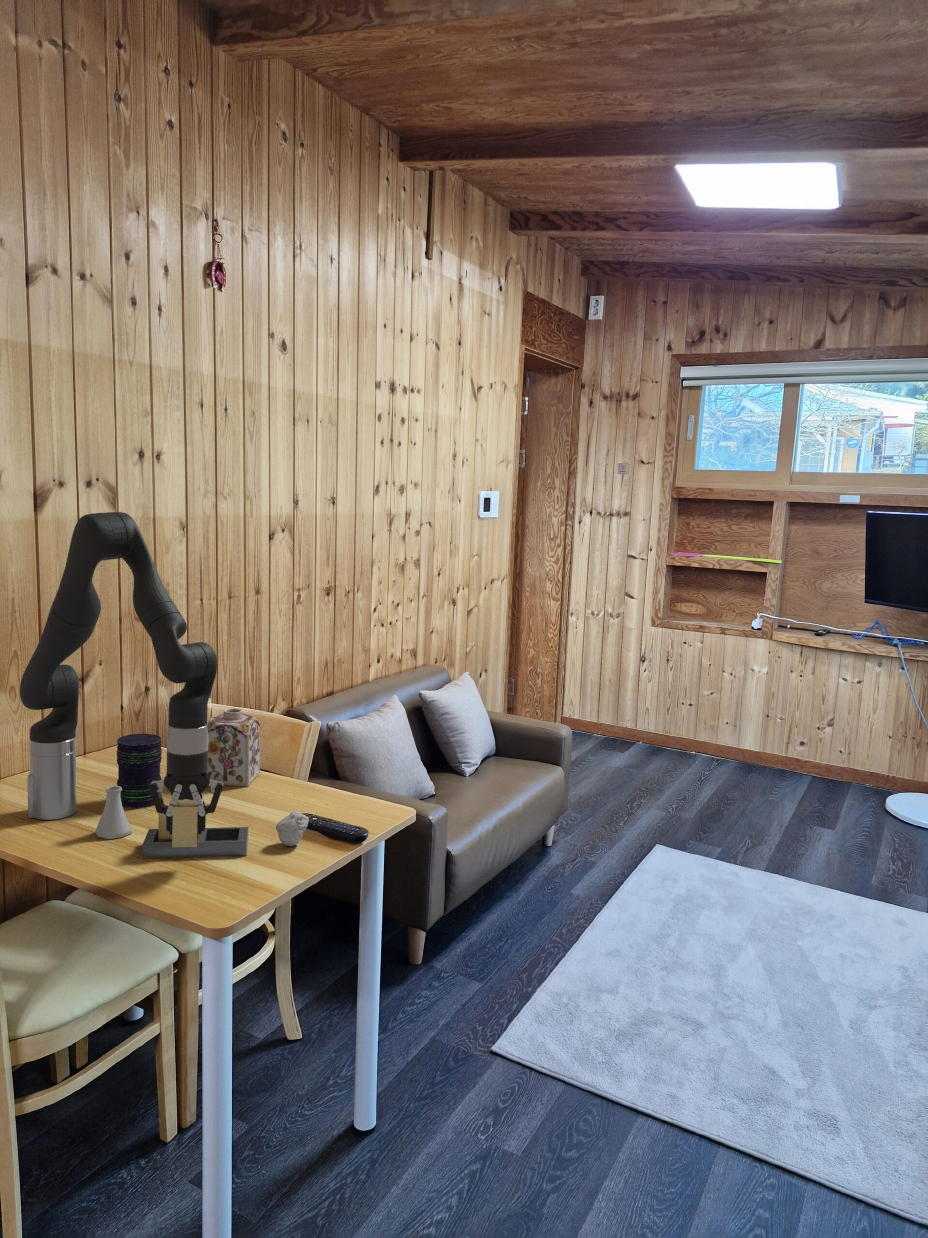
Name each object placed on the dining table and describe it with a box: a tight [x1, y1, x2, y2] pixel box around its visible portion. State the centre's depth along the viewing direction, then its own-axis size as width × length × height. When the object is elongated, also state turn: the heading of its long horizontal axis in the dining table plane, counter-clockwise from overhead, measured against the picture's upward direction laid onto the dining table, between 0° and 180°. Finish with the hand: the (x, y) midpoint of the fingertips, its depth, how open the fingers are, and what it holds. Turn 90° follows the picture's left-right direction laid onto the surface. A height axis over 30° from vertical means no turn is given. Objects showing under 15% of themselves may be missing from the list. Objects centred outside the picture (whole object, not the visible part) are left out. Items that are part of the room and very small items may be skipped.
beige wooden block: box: [172, 799, 199, 847], centre depth 173 cm, size 4×4×8 cm
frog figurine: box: [275, 811, 310, 847], centre depth 188 cm, size 6×7×7 cm
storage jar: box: [116, 733, 163, 809], centre depth 209 cm, size 10×10×15 cm
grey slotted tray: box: [142, 826, 249, 859], centre depth 183 cm, size 20×8×3 cm, turn 101°
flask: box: [94, 785, 133, 840], centre depth 189 cm, size 7×7×10 cm
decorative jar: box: [207, 707, 261, 788], centre depth 228 cm, size 12×12×18 cm
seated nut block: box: [158, 813, 172, 842], centre depth 182 cm, size 4×4×8 cm
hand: (186, 832), depth 173 cm, fingers closed on beige wooden block, 4 cm apart
